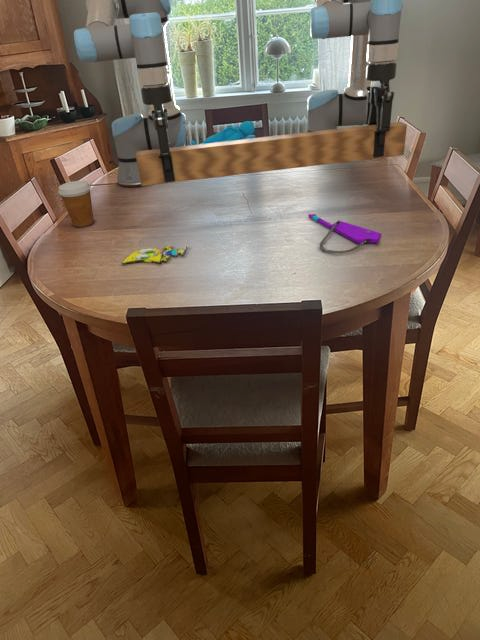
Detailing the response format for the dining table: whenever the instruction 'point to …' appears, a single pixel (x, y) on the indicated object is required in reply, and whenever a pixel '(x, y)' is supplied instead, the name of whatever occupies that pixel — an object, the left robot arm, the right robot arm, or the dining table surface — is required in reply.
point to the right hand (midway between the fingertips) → (375, 154)
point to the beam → (270, 153)
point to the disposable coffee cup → (77, 202)
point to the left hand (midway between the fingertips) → (169, 178)
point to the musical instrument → (348, 233)
